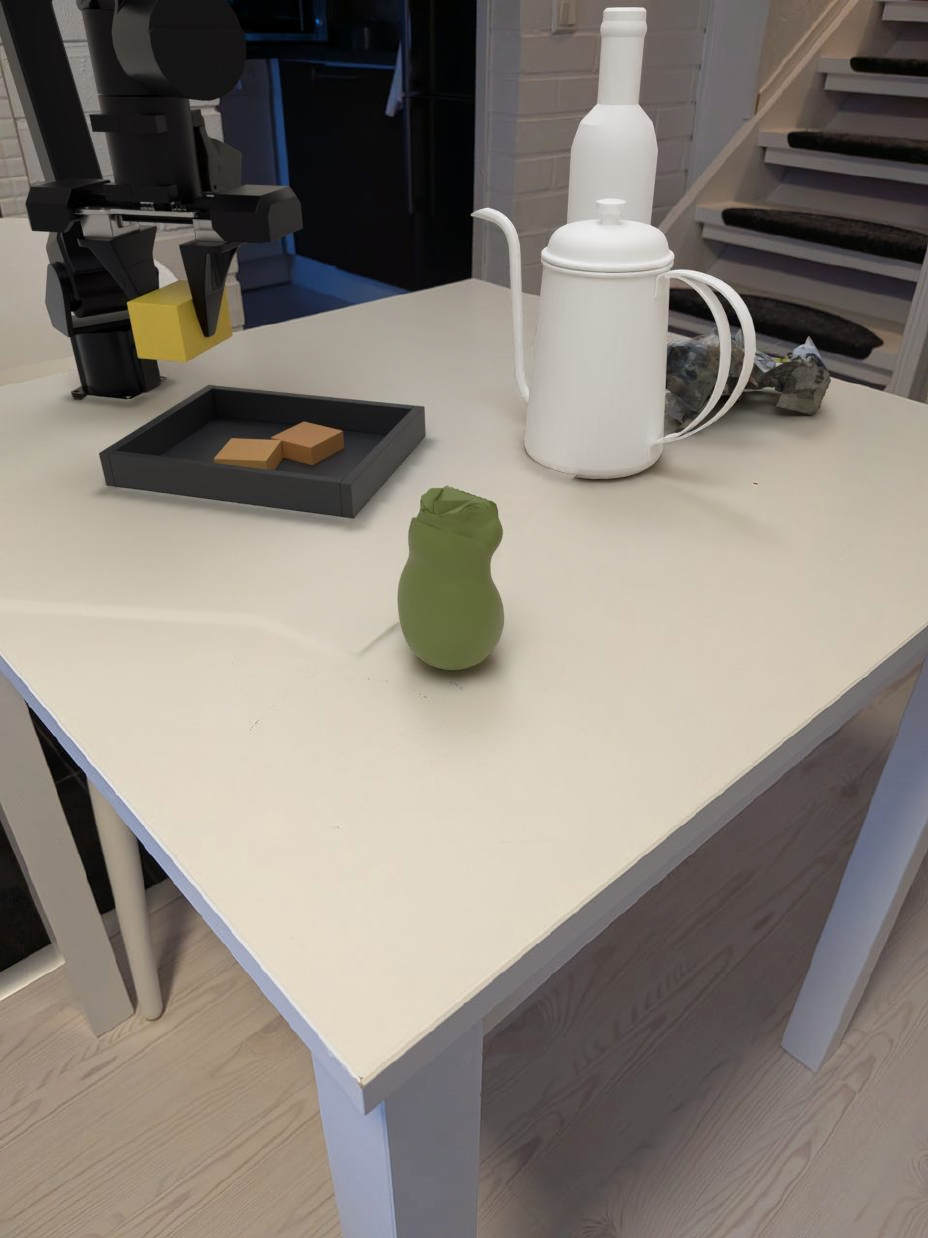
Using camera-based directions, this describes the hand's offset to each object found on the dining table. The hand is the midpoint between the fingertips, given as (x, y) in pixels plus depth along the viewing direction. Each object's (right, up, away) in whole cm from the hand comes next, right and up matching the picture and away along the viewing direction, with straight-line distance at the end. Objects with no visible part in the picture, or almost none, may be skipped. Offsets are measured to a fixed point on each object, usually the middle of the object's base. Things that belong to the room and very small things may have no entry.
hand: (184, 333), depth 68 cm
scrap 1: (+5, -10, +1) cm, 11 cm away
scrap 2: (+9, -8, +4) cm, 13 cm away
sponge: (0, -1, +1) cm, 1 cm away
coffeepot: (+31, -8, +5) cm, 32 cm away
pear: (+20, -24, -19) cm, 36 cm away
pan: (+6, -9, +3) cm, 12 cm away
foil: (+45, -3, +13) cm, 47 cm away
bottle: (+34, +4, +24) cm, 42 cm away
